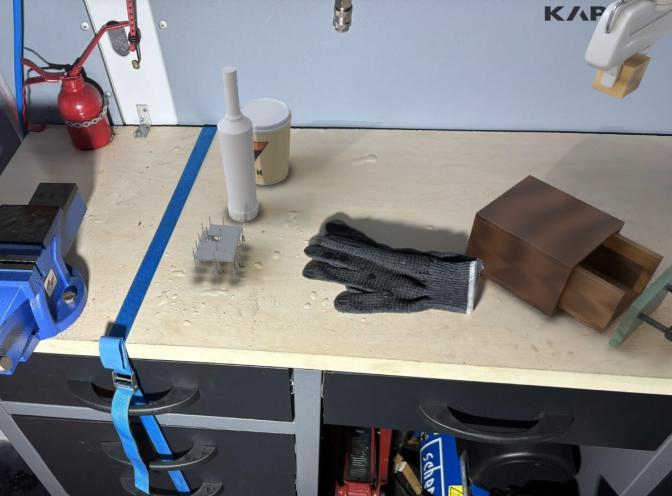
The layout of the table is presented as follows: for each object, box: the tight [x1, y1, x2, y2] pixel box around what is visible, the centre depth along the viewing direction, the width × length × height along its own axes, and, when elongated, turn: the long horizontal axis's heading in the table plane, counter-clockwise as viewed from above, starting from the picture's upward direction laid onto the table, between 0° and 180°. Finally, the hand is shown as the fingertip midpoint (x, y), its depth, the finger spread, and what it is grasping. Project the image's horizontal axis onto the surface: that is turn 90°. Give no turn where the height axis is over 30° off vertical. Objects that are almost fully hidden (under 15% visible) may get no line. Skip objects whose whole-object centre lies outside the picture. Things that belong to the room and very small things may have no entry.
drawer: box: [557, 232, 672, 350], centre depth 79 cm, size 18×11×8 cm, turn 40°
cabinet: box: [464, 174, 626, 318], centre depth 85 cm, size 15×13×10 cm
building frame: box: [191, 216, 246, 283], centre depth 90 cm, size 6×8×6 cm
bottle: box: [216, 65, 260, 223], centre depth 91 cm, size 5×5×25 cm
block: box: [591, 53, 652, 100], centre depth 86 cm, size 5×5×5 cm
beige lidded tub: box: [240, 97, 293, 186], centre depth 103 cm, size 9×9×12 cm
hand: (619, 76), depth 87 cm, fingers closed on block, 4 cm apart
